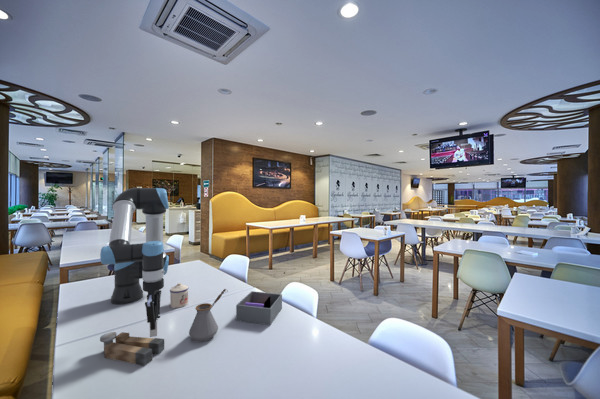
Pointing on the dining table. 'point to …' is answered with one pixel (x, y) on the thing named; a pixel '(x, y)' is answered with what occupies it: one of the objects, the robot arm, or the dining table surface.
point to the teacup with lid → (179, 296)
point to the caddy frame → (259, 308)
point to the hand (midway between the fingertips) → (154, 335)
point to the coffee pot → (204, 322)
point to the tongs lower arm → (127, 353)
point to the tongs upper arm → (135, 341)
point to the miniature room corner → (265, 305)
